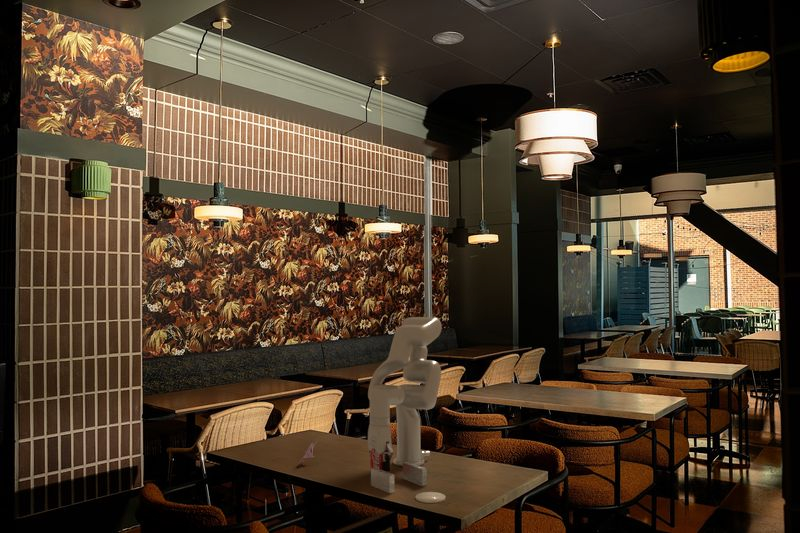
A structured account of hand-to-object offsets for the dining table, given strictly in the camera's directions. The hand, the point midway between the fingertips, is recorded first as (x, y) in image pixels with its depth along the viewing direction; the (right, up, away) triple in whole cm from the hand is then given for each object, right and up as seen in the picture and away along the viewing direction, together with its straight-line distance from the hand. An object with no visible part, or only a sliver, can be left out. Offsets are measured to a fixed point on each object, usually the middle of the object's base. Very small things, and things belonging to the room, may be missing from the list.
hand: (380, 469), depth 239 cm
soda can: (0, -3, 0) cm, 3 cm away
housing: (+7, -3, -10) cm, 12 cm away
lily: (-30, -5, +21) cm, 36 cm away
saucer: (+17, -2, -25) cm, 31 cm away
